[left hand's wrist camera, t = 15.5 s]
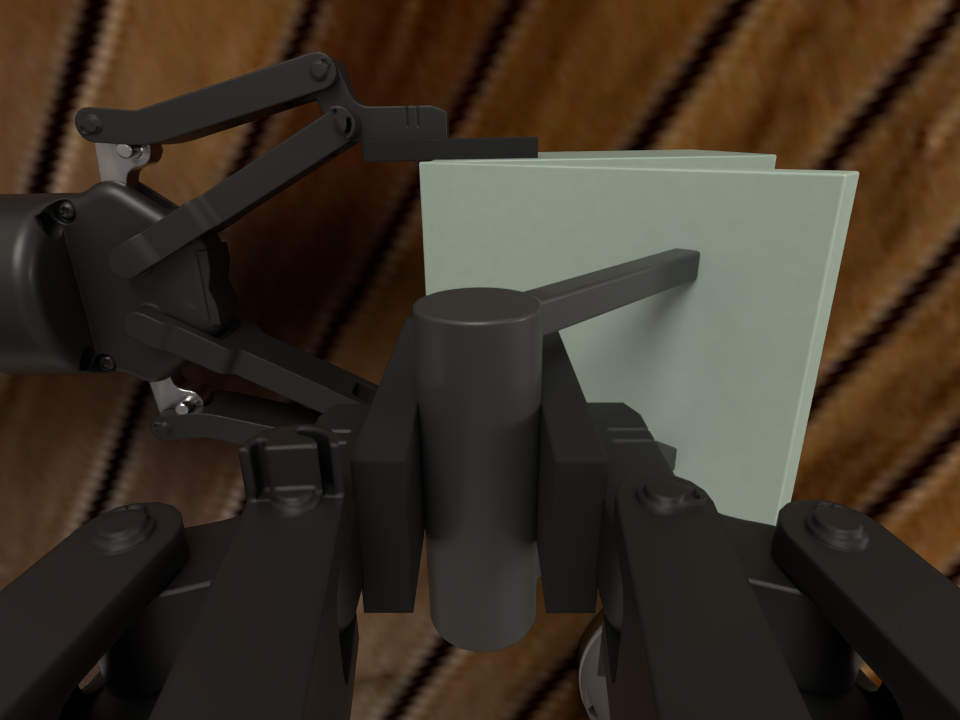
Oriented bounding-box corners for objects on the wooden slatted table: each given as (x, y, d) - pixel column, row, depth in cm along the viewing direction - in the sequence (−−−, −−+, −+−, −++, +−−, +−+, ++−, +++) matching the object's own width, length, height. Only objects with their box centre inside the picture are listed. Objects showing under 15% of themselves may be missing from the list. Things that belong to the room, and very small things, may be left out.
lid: (860, 171, 12) (611, 217, 6) (780, 552, 15) (573, 824, 9) (439, 160, 21) (166, 175, 15) (449, 406, 24) (232, 498, 18)
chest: (692, 149, 29) (777, 154, 21) (672, 332, 32) (738, 399, 24) (443, 154, 29) (430, 160, 21) (450, 336, 32) (441, 404, 24)
